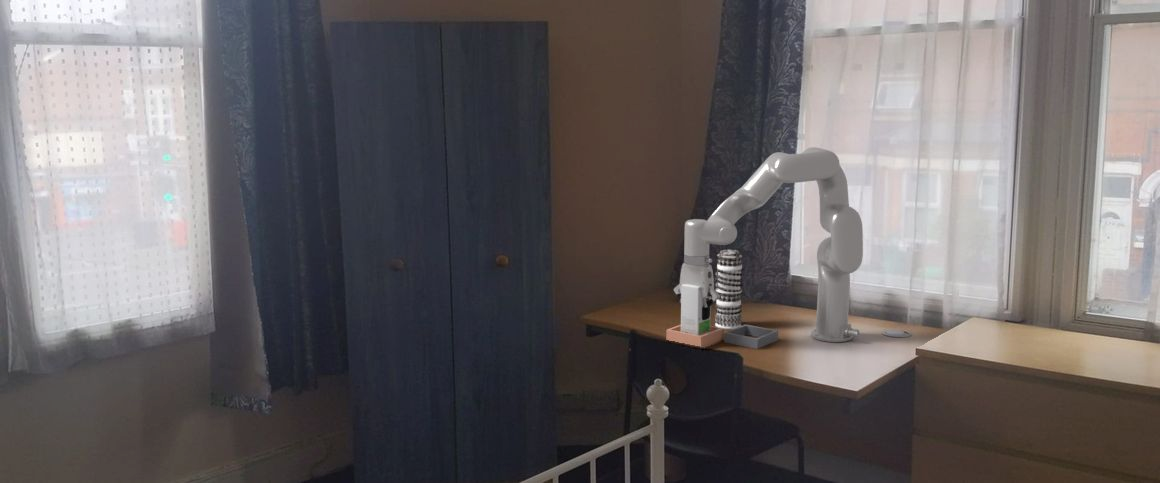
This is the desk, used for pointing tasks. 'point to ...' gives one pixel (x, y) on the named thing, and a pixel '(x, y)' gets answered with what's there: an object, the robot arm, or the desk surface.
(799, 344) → the desk surface
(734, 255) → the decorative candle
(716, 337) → the terracotta bin
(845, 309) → the robot arm
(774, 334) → the frame
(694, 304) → the skincare box
